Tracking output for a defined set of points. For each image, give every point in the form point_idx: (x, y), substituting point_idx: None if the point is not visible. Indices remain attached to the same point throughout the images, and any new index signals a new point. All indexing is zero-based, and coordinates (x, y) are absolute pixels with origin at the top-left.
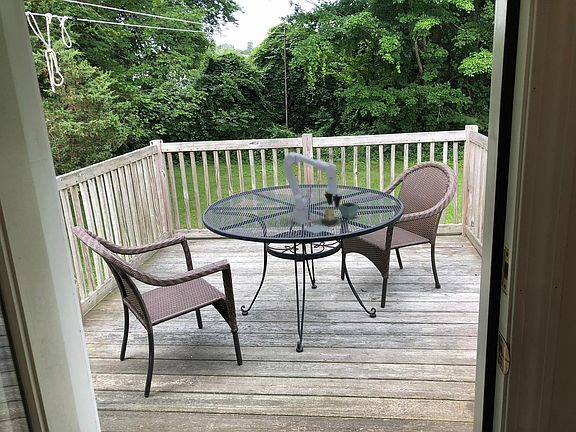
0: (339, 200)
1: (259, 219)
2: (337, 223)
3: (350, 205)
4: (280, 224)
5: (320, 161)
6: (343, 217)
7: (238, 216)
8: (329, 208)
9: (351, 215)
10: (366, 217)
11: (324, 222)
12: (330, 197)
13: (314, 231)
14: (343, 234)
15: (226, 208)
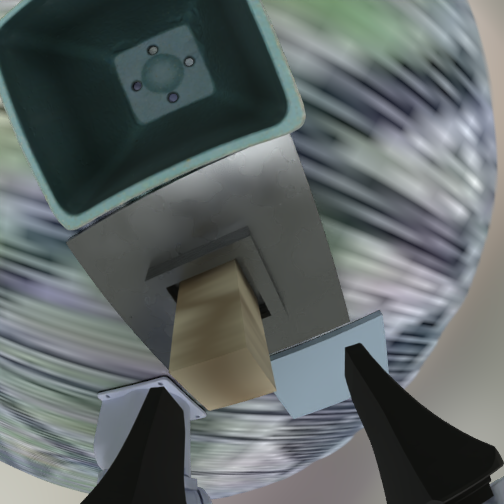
0: (425, 420)
1: (93, 462)
2: (310, 248)
3: (44, 19)
4: None
5: None
6: (146, 132)
7: (63, 470)
8: (205, 377)
9: (235, 62)
10: None
11: None
12: (158, 495)
13: None
14: (473, 269)
15: (2, 454)
